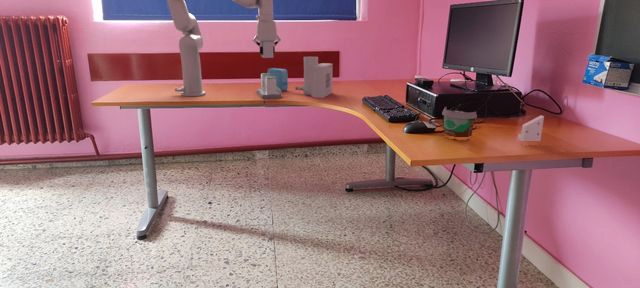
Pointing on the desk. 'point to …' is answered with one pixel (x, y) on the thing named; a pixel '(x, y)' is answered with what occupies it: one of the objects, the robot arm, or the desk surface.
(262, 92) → the rail
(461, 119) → the food container
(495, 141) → the desk surface
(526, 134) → the white angled block
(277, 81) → the data package
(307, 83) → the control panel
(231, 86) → the desk surface
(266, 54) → the block
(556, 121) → the desk surface
